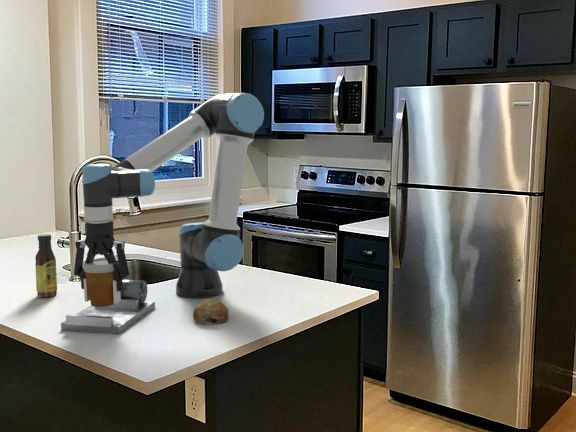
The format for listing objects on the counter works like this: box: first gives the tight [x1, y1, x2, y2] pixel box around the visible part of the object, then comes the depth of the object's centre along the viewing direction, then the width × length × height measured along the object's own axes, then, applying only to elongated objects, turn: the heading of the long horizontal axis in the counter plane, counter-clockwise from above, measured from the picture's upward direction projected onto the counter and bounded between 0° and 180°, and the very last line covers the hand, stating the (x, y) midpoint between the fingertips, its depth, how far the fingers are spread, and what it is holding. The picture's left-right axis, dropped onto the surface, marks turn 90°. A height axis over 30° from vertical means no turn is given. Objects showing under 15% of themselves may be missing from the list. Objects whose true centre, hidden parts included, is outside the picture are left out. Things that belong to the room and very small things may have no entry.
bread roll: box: [192, 297, 230, 326], centre depth 185 cm, size 10×10×8 cm
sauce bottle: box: [34, 233, 58, 298], centre depth 209 cm, size 7×6×20 cm
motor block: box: [60, 279, 156, 335], centre depth 186 cm, size 17×25×9 cm
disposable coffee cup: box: [83, 258, 116, 307], centre depth 181 cm, size 10×10×12 cm
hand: (102, 301), depth 182 cm, fingers closed on disposable coffee cup, 8 cm apart
